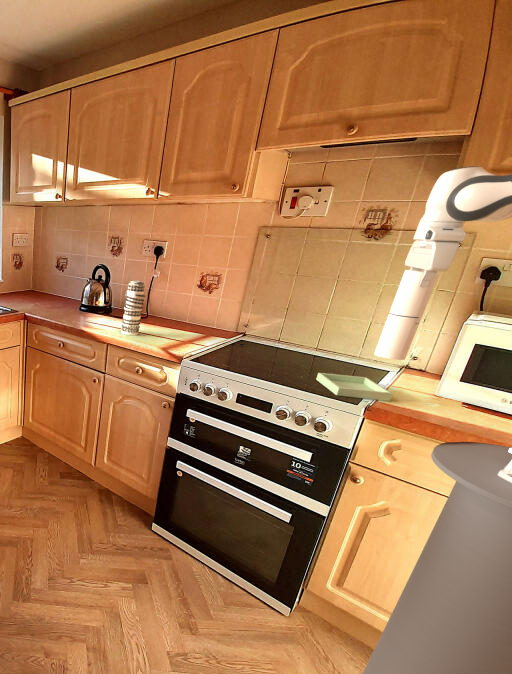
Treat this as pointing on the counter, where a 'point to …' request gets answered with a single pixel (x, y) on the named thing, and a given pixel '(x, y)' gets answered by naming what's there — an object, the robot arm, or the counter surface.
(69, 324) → the counter surface
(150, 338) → the counter surface
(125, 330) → the leaning tower model
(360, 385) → the tray
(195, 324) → the counter surface
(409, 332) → the cylindrical container
